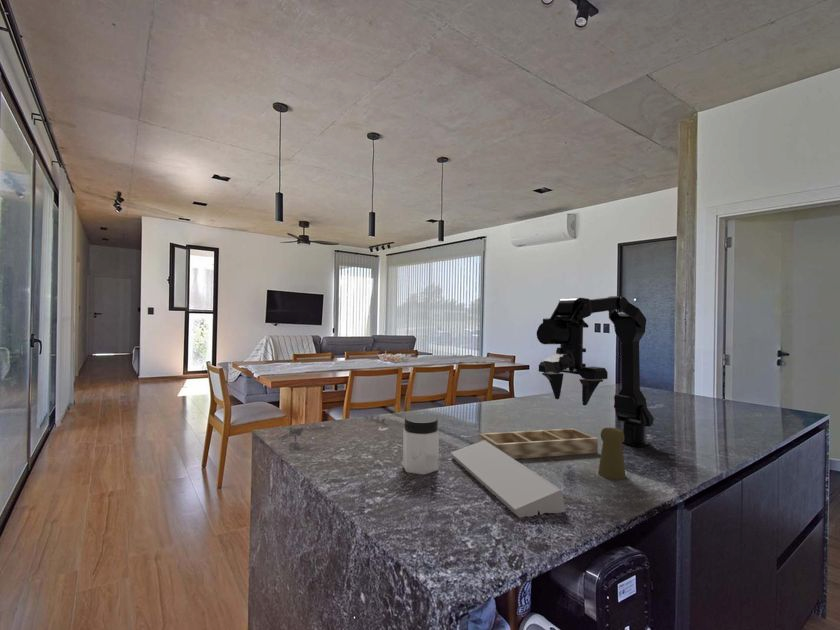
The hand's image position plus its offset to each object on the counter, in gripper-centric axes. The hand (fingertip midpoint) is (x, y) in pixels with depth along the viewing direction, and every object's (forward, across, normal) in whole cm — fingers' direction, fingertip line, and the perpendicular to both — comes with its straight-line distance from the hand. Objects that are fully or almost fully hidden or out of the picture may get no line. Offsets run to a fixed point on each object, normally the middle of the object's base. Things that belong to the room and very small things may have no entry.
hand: (570, 402), depth 114 cm
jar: (+15, -10, -41) cm, 44 cm away
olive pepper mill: (+15, +14, -2) cm, 21 cm away
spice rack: (+15, -8, -4) cm, 17 cm away
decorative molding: (+16, +5, -29) cm, 33 cm away
